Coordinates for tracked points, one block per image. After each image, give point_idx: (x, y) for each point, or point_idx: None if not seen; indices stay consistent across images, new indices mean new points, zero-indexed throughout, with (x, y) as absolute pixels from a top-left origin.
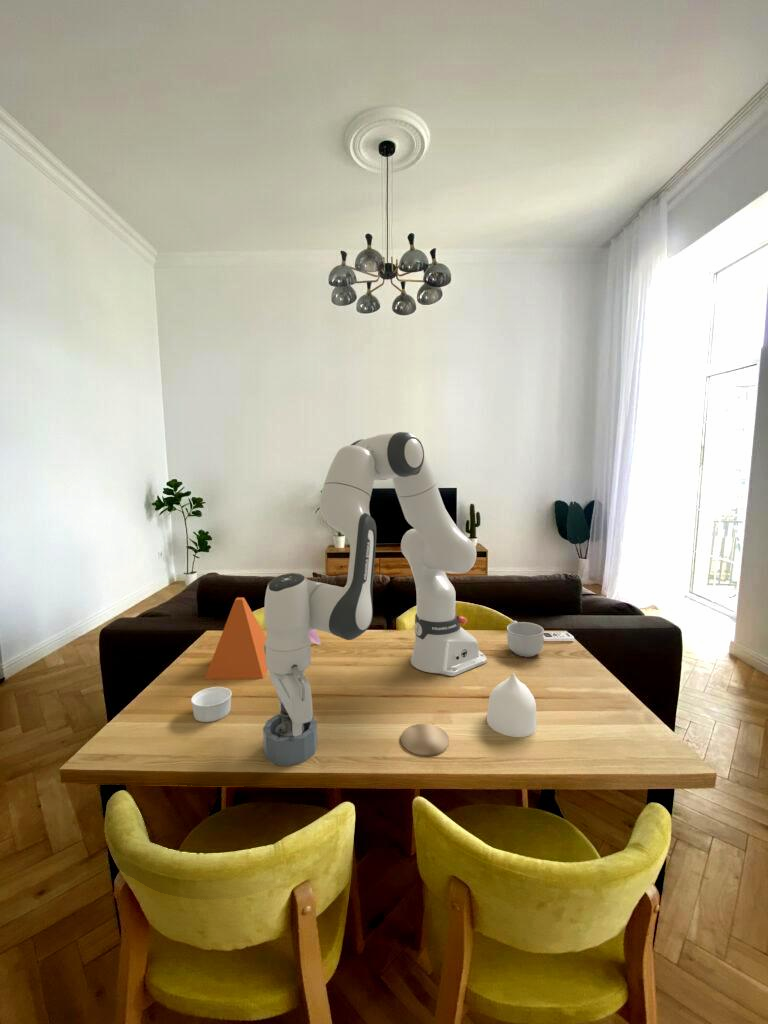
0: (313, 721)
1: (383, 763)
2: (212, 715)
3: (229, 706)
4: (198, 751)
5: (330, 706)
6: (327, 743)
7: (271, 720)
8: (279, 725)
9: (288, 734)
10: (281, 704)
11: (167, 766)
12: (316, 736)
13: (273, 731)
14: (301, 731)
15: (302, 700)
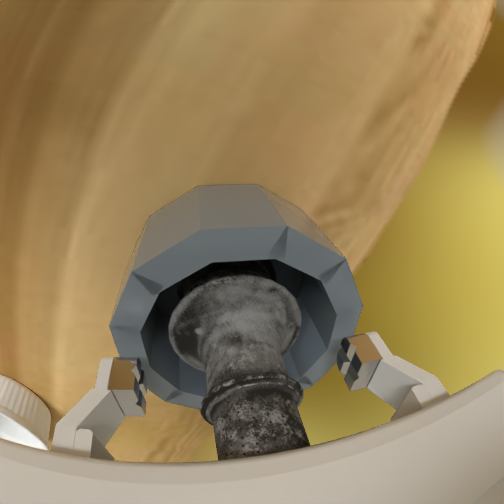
0: (268, 241)
1: (445, 43)
2: (45, 419)
3: (7, 390)
4: (153, 432)
5: (7, 65)
6: (267, 141)
7: (170, 393)
8: (194, 363)
9: (283, 345)
10: (144, 413)
11: (184, 453)
12: (280, 206)
13: (177, 355)
14: (379, 338)
15: (391, 443)
